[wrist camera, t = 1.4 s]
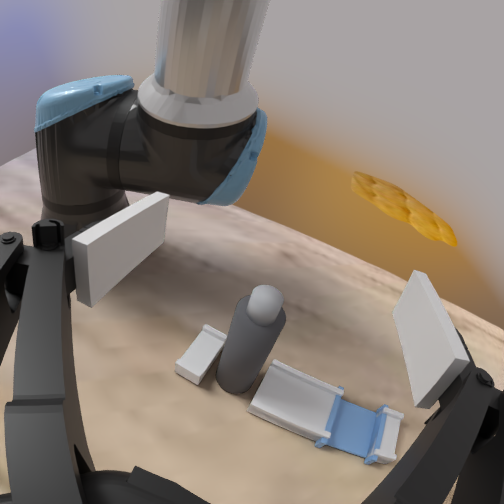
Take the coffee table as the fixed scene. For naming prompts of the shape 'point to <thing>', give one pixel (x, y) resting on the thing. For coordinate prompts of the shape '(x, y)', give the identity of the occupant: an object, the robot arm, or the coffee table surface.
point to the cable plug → (250, 338)
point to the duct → (304, 404)
